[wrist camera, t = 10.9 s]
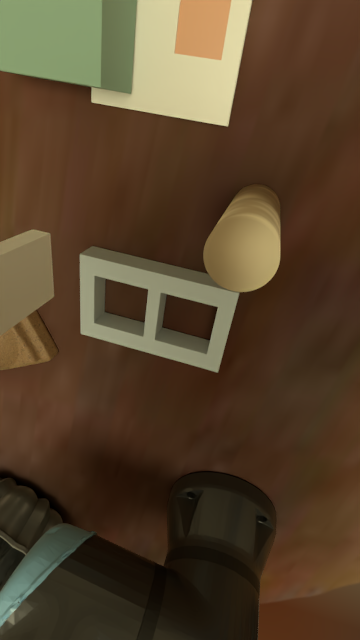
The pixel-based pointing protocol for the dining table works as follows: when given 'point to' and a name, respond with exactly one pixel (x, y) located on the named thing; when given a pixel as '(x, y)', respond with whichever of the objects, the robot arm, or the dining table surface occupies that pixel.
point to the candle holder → (26, 343)
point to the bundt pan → (21, 524)
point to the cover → (70, 41)
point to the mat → (185, 59)
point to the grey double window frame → (153, 306)
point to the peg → (245, 241)
